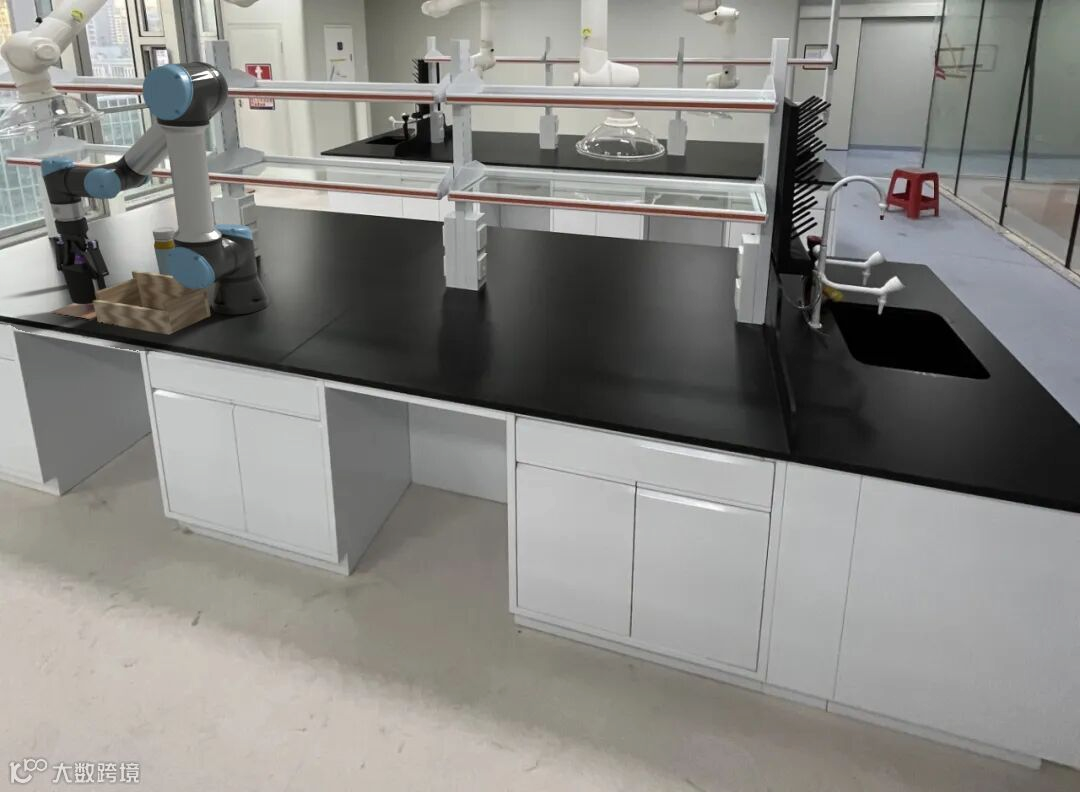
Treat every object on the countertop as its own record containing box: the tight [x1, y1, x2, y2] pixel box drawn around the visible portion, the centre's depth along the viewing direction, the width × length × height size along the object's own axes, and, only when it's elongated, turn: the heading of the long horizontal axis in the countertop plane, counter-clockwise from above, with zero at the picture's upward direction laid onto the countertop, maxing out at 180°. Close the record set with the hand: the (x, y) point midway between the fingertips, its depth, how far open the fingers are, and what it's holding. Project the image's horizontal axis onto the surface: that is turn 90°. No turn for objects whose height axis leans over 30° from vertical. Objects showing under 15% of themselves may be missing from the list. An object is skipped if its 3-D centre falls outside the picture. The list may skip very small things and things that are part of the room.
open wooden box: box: [93, 270, 212, 335], centre depth 217 cm, size 24×15×10 cm, turn 69°
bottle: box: [152, 226, 176, 276], centre depth 250 cm, size 7×7×15 cm
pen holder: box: [61, 263, 98, 304], centre depth 223 cm, size 9×9×10 cm
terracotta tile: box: [51, 302, 97, 320], centre depth 226 cm, size 14×14×1 cm
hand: (89, 298), depth 225 cm, fingers closed on pen holder, 9 cm apart
